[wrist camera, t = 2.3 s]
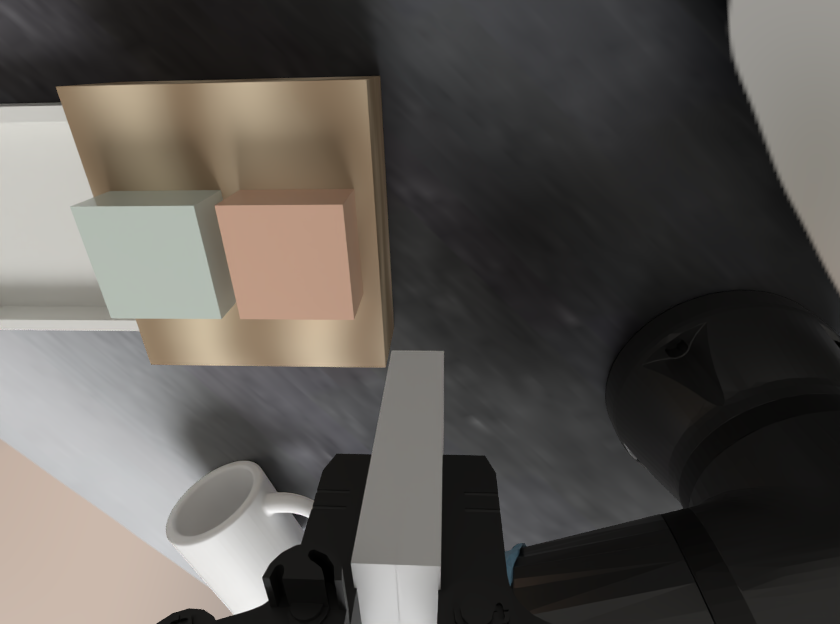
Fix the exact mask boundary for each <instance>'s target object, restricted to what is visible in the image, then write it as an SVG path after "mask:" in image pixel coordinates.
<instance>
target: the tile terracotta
mask: <svg viewBox="0 0 840 624" xmlns="http://www.w3.org/2000/svg"><path fill="white" fill-rule="evenodd" d="M215 210H216V214H217V219H218V223H219V228H220V232H221V236H222V241H223V245H224V250H225V254H226V259H227V263H228V267H229V272H230V276H231V281H232V285H233V289H234V294H235V298H236V303H237V307H238V312H239V316H240V319H289V320H354V319H355V316H356V313H357V311H358V308H359V305H360V302H361V300H362V297H363V284H362V273H361V261H360V250H359V238H358V227H357V215H356V203H355V192H354V189H273V190H238V191H237V192H235V193H234V194H232V195H231V196H229V197H227V198H226V199H224V200H223V201H221V202H219V203H218V204H216V205H215Z"/></svg>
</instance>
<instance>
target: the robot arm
mask: <svg viewBox="0 0 840 624" xmlns="http://www.w3.org/2000/svg"><path fill="white" fill-rule="evenodd" d="M606 407H607V411H608V415H609V418H610V420H611V422H612V424H613V427H614V429H615V431H616V433H617V435H618V438H619V440H620V441H621V443H622V445H623V446H624V448H625V449H626V450H627V452H628V453H629V454H630V455H631V456H632V457H633V458H634V459H635V460H636V461H637V462H638V463H640V464H641V465H642V466H643V467H644V468H646V469H647V470H648V471H649V472H650V473H651V474H652V475H653V476H654V477H655V478H656V479H657V480H658V481H659V482H660V483H661V484H662V485H663V486H664V487H665V488H666V489H667V490H668V491H669V492H670V493H671V494H672V495H673V496H674V497H675V498H676V499H677V500H678V501H679V502H680V503H681V505H682V506H683V509H681V510H677V511H673V512H669V513H665V514H658V515H654V516H650V517H646V518H642V519H638V520H634V521H630V522H626V523H622V524H618V525H614V526H610V527H606V528H601V529H597V530H593V531H589V532H585V533H581V534H577V535H573V536H569V537H565V538H561V539H557V540H553V541H549V542H544V543H540V544H536V545H532V546H527V547H526V545H525V543H520V544H517V545H515V546H514V547H513V548H512V549H511V550H509V551H506V552H505V550H504V541H503V533H502V524H501V515H500V506H499V497H498V489H497V480H496V473H495V471H494V469H493V468H492V466H491V465H490V463H489V461H488V460H487V458H486V457H485V456H474V455H443V447H444V351H392V352H391V357H390V362H389V367H388V372H387V378H386V383H385V388H384V393H383V398H382V404H381V409H380V414H379V419H378V424H377V430H376V435H375V440H374V445H373V450H372V455H369V454H336V455H335V456H334V458H333V459H332V460H331V461H330V462H329V464H328V465H327V466H326V467H325V469H324V470H323V472H322V476H321V479H320V482H319V486H318V489H317V493H316V496H315V499H314V502H313V508H312V509H311V512H310V515H309V519H308V522H307V525H306V529H305V532H304V535H303V538H302V542H301V544H299V545H295V546H293V547H291V548H289V549H287V550H285V551H283V552H282V553H281V554H279V555H278V556H277V557H276V558H275V559H274V560H273V561H272V562H271V563H270V564H269V566H268V568H267V570H266V571H265V573H264V575H263V577H262V580H263V583H264V587H265V590H266V594H267V597H268V600H269V601H267V602H266V603H264V604H263V605H261V606H259V607H256V608H254V609H251V610H249V611H246V612H242V613H239V614H236V615H233V616H229V617H226V618H222V619H219V620H215V618H214V617H213V616H212V615H211V614H209V613H208V612H206V611H205V610H201V609H186V610H182V611H179V612H176V613H172V614H171V615H169V616H168V617H166V618H165V619H163V620H161V621H160V622H158V623H157V624H840V337H839V336H838V335H837V333H836V332H835V331H834V330H833V329H832V328H831V327H830V326H829V325H827V324H826V323H825V322H824V321H822V320H821V319H820V318H818V317H817V316H815V315H814V314H812V313H811V312H810V311H808V310H807V309H805V308H804V307H802V306H801V305H799V304H798V303H796V302H794V301H792V300H790V299H787V298H785V297H782V296H779V295H776V294H772V293H767V292H760V291H746V290H742V291H727V292H720V293H715V294H710V295H706V296H702V297H699V298H696V299H693V300H690V301H687V302H685V303H682V304H680V305H678V306H676V307H674V308H672V309H670V310H668V311H666V312H664V313H663V314H661V315H659V316H658V317H656V318H655V319H653V320H652V321H651V322H649V323H648V324H647V325H645V326H644V327H643V328H642V329H641V330H640V331H638V332H637V333H636V334H635V335H634V336H633V337H632V338H631V339H630V341H629V342H628V343H627V344H626V345H625V347H624V348H623V349H622V351H621V352H620V354H619V355H618V357H617V358H616V360H615V362H614V364H613V366H612V369H611V371H610V374H609V377H608V381H607V385H606Z"/></svg>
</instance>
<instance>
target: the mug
mask: <svg viewBox="0 0 840 624" xmlns="http://www.w3.org/2000/svg"><path fill="white" fill-rule="evenodd" d="M313 502H314V500H312V499H310V498H308V497H305V496H302V495H299V494H294V493H287V492H277V491H276V489H275V488H274V486H273V485H272V483H271V482H270V480H269V479H268V477H267V476H266V475H265V473H264V472H263V470H262V469H261V467H260V466H259V465H258V464H256V463H254V462H251V461H236V462H232V463H229V464H226V465H224V466H221V467H219V468H217V469H215V470H213V471H212V472H210V473H208V474H207V475H205V476H204V477H203V478H201V479H200V480H199V481H197V482H196V483H195V484H194V485H193V486H191V487H190V488H189V489H188V490H187V491H186V492H185V493H184V495H183V496H182V497H181V498H180V499H179V501H178V502H177V503H176V505H175V506H174V508H173V509H172V511H171V513H170V515H169V518H168V520H167V524H166V535H167V538H168V540H169V542H170V543H171V544H172V545H173V546H174V547H175V548H176V550H177V551H178V552H179V553H180V554H181V555H182V556H183V558H184V559H185V560H186V561H187V562H188V563H189V564H190V566H191V567H192V568H193V569H194V570H195V571H196V572H197V573H198V575H199V576H200V577H201V578H202V579H203V580H204V581H205V583H206V584H207V585H208V586H209V587H210V588H211V589H212V591H213V592H214V593H215V594H216V595H217V596H218V597H219V599H220V600H221V601H222V602H223V603H224V604H225V605H226V606H227V608H228V609H229V610H230V611H231V612H232V613H233V615H236V614H239V613H242V612H246V611H249V610H251V609H254V608H256V607H259V606H261V605H263V604H264V603H266V602H267V601H269V600H268V597H267V594H266V590H265V587H264V583H263V580H262V577H263V575H264V573H265V571H266V570H267V568H268V566H269V564H270V563H271V562H272V561H273V560H274V559H275V558H276V557H277V556H278V555H279V554H281V553H282V552H283V551H285V550H287V549H289V548H291V547H293V546H295V545H299V544H301V542H302V538H303V535H304V531H303V529H302V528H301V526H300V525H299V523H298V522H297V520H296V519H295V517H294V516H293V514H292V513H295V514H300V515H303V516H305V517H307V518H309V515H310V512H311V509H312V508H313Z"/></svg>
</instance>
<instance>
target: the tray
mask: <svg viewBox="0 0 840 624" xmlns="http://www.w3.org/2000/svg"><path fill="white" fill-rule="evenodd" d="M91 198H93V194H92V191H91V188H90V185H89V182H88V179H87V177H86V174H85V171H84V168H83V165H82V162H81V159H80V156H79V153H78V150H77V147H76V145H75V142H74V139H73V136H72V133H71V130H70V127H69V124H68V121H67V118H66V115H65V112H64V110H63V107H62V104H61V102H58V103H10V104H0V330H87V331H139V328H138V325H137V322H136V319H134V318H111V316H110V314H109V311H108V308H107V305H106V303H105V300H104V297H103V295H102V292H101V289H100V287H99V284H98V281H97V278H96V276H95V273H94V270H93V268H92V265H91V262H90V260H89V257H88V254H87V251H86V249H85V246H84V243H83V241H82V238H81V235H80V233H79V230H78V227H77V224H76V222H75V219H74V216H73V214H72V211H71V208H70V206H73V205H75V204H78V203H81V202H83V201H86V200H88V199H91Z"/></svg>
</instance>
